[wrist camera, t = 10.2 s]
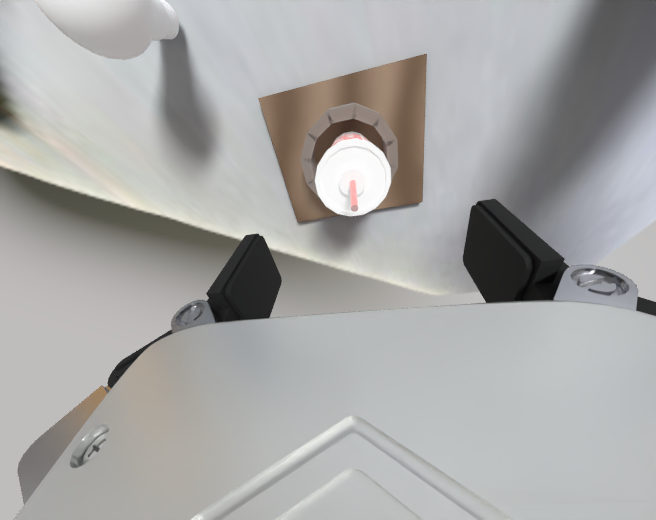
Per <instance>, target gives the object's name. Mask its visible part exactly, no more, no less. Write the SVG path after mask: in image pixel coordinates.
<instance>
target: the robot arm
mask: <svg viewBox="0 0 656 520" xmlns="http://www.w3.org/2000/svg"><path fill="white" fill-rule="evenodd" d="M563 261H564V258H563V257H562V256H561V255H559V254H558V253H557V252H556V251H555V250H554V249H552V248H551V247H550V246H549V245H548V244H547V243H545V242H544V241H543V240H542V239H541V238H540V237H539V236H537V235H536V234H535V233H534V232H533V231H532V230H530V229H529V228H528V227H527V226H526V225H525V224H524V223H522V222H521V221H520V220H519V219H518V218H517V217H515V216H514V215H513V214H512V213H511V212H510V211H508V210H507V209H506V208H505V207H504V206H503V205H502V204H500V203H499V202H498V201H497V200H496V199H490V200H484V201H478V202H477V203H476V205H473V206H472V208H471V212H470V218H469V224H468V230H467V236H466V242H465V248H464V254H463V263H464V265H465V267H466V269H467V271H468V272H469V274H470V276H471V277H472V279H473V281H474V282H475V284H476V286H477V288H478V289H479V291H480V293H481V294H482V296H483V298H484V299H485V301H486V303H477V304H462V305H447V306H431V307H416V308H402V309H388V310H375V311H374V310H373V311H359V312H345V313H331V314H317V315H304V316H290V317H276V318H269V317H270V314H271V312H272V309H273V306H274V303H275V300H276V297H277V294H278V291H279V288H280V285H281V276H280V274H279V271H278V269H277V267H276V264H275V262H274V260H273V258H272V255H271V253H270V251H269V248H268V246H267V244H266V242H265V239H264V237H263V236H260V235H259V234H251V235H246V236H245V237H244V238H243V240H242V242H241V243H240V245H239V246H238V247H237V249H236V250H235V252H234V253H233V255H232V256H231V258H230V259H229V261H228V262H227V264H226V265H225V267H224V268H223V270H222V271H221V273H220V274H219V276H218V277H217V279H216V280H215V282H214V283H213V285H212V286H211V287H210V289H209V290H208V292H207V295H208V297H209V299H208V300H207V301H205V300H197V301H193V302H191V303H189V304H187V305H185V306H184V307H182V308H181V309H180V310H179V311H178V312H177V313H176V314H175V315H174V317H173V319H172V321H171V327H172V330H170V331H168V332H167V333H165V334H164V335H162V336H160V337H159V338H157V339H155V340H154V341H152V342H151V343H149V344H148V345H146V346H144V347H143V348H141V349H139V350H138V351H136V352H135V353H133V354H131V355H130V356H128V357H126V358H125V359H123V360H122V361H121V362H120V363H119V364H118V365H117V366H116V367H115V369H114V370H113V371H112V373H111V375H110V377H109V379H108V386H107V387H104V386H100V387H99V388H98V389H97V390H96V391H94V392H93V393H92V394H91V395H90V396H89V397H87V398H86V399H85V400H84V401H82V402H81V403H80V404H79V405H78V406H76V407H75V408H74V409H73V410H72V411H70V412H69V413H68V414H67V415H66V416H64V417H63V418H62V419H61V420H60V421H58V422H57V423H56V424H55V425H53V426H52V427H51V428H50V429H49V430H47V431H46V432H45V433H44V434H43V435H41V436H40V437H39V438H38V439H37V440H36V441H35V442H34V443H33V444H32V445H31V446H30V447H29V449H28V450H27V451H26V452H25V454H24V455H23V457H22V458H21V460H20V462H19V465H18V476H19V481H20V486H21V491H22V496H23V502H24V506H23V507H22V509H21V510H20V511H19V513H18V514H17V516H16V517H15V518H14V519H13V520H656V302H653V301H650V300H647V299H644V298H640V297H638V289H637V285H636V284H635V283H634V282H633V281H632V280H631V279H629V278H628V277H626V276H625V275H623V274H621V273H619V272H616V271H614V270H611V269H608V268H604V267H600V266H594V265H576V266H572V267H569V266H568V265H567V264H565V263H564V262H563Z"/></svg>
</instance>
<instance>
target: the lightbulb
mask: <svg viewBox="0 0 656 520" xmlns="http://www.w3.org/2000/svg"><path fill="white" fill-rule="evenodd" d="M34 1H35V3H36V4H37V5H38V7H39V8H40V10H41V11H42V12H43V13H44V14H45V16H46V17H47V18H48V19H49V20H50V21H51V22H52V23H53V24H54V25H55V26H56V27H57V28H58V29H59V30H60V31H61V32H63V33H64V34H65V35H66V36H67V37H68V38H70V39H71V40H73V41H74V42H75V43H77V44H79V45H80V46H82V47H84V48H85V49H87V50H89V51H91V52H93V53H96V54H98V55H101V56H104V57H107V58H111V59H121V60H125V59H131V58H134V57H137V56H139V55H140V54H142V53H143V52H144V51H145V50H146V49H147V48H148V46H149V45H150V43H151V41H152V40H153V41H159V40H161V39H173V38H175V37H176V36H177V34H178V32H179V22H178V18H177V15H176V13H175V11H174V10H173V8H172V7H171V6H170V5H169V4H168V3H167V2H166V1H164V0H34Z"/></svg>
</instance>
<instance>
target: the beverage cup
mask: <svg viewBox="0 0 656 520" xmlns="http://www.w3.org/2000/svg"><path fill="white" fill-rule="evenodd" d="M315 184H316V189H317V193H318V196H319V197H320V199H321V200H322V202H323V203H324V204H325V206H326V207H328V208H329V209H331V210H332V211H334V212H335V213H337V214H341V215H345V216H350V217H351V216H357V215H364V214H366V213H368V212H369V211H371V210H373V209H375V208H377V206H378V205H379V204H380V203H381V202H382V201H383V200H384V198H385V197H386V195H387V193H388V190H389V187H390V184H391V167H390V165H389V163H388V161H387V159H386V157H385V155H384V153H383V152H382V151H381V150H380V149H379V148H377V147H376V146H375V145H374V144H372V143H371V142H369V141H368V139H367V138H365V137H364V136H363V135H362V134H360V133H356V132H347V133H343V134H342V135H340V136H339V137H337V138H336V140H335V141H334V143H333V144H332V146H331V148H329V149H328V150H327V151H326V152H325V154H324V155H323V157H322V159H321V160H320V162H319V164H318V165H317V171H316V177H315Z"/></svg>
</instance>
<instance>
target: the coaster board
mask: <svg viewBox="0 0 656 520" xmlns="http://www.w3.org/2000/svg"><path fill="white" fill-rule="evenodd" d="M426 60H427V54H424V55H420V56H416V57H412V58H409V59H405V60H401V61H397V62H394V63H390V64H386V65H382V66H379V67H375V68H371V69H367V70H363V71H360V72H356V73H352V74H348V75H345V76H341V77H337V78H333V79H330V80H326V81H322V82H318V83H315V84H311V85H307V86H303V87H300V88H296V89H292V90H288V91H284V92H281V93H277V94H273V95H269V96H266V97H262V98H258V99H259V102H260V105H261V108H262V111H263V114H264V118H265V121H266V124H267V127H268V130H269V133H270V137H271V140H272V143H273V146H274V149H275V152H276V155H277V159H278V162H279V165H280V168H281V171H282V174H283V177H284V181H285V184H286V187H287V190H288V193H289V196H290V200H291V203H292V206H293V209H294V212H295V215H296V218H297V222H302V221H308V220H315V219H321V218H327V217H333V216H339V215H341V214H337V213H335V212H334V211H332V210H331V209H329V208H328V207H326V206H325V204H324V203H323V202H322V200H321V199H320V197H319V196H318V193H317V189H316V184H315V177H316V171H317V165H318V164H319V162H320V160H321V159H322V157H323V155H324V154H325V152H326V151H327V150H328V149H329V148H331V146H332V144H333V143H334V141H335V140H336V138H337V137H339V136H340V135H342V134H343V133H347V132H356V133H360V134H362V135H363V136H364V137H365V138H367V139H368V141H369V142H371V143H372V144H374V145H375V146H376V147H377V148H379V149H380V150H381V151H382V152H383V153H384V155H385V157H386V159H387V161H388V163H389V165H390V167H391V184H390V187H389V190H388V193H387V195H386V197H385V198H384V200H383V201H382V202H381V203H380V204H379V205H378V206H377V208H375V209H373V210H376V209H382V208H388V207H394V206H401V205H407V204H413V203H419V202H422V198H423V163H424V129H425V95H426Z"/></svg>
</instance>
